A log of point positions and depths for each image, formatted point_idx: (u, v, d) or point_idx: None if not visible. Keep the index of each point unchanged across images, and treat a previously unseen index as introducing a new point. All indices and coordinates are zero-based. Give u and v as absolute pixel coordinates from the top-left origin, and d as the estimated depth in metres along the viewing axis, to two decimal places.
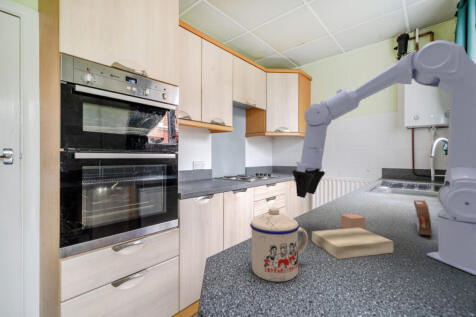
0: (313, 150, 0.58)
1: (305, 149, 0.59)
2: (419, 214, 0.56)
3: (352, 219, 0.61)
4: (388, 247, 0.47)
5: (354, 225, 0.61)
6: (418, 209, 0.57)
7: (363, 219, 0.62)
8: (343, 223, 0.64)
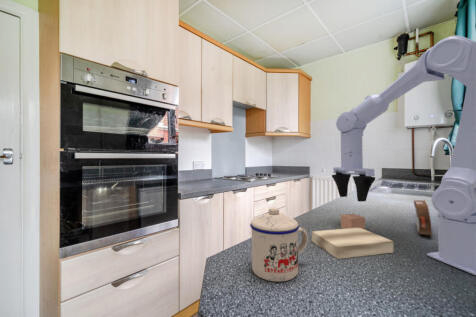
0: (361, 154, 0.61)
1: (354, 154, 0.61)
2: (419, 214, 0.56)
3: (352, 219, 0.61)
4: (388, 247, 0.47)
5: (354, 225, 0.61)
6: (418, 209, 0.57)
7: (363, 219, 0.62)
8: (343, 223, 0.64)
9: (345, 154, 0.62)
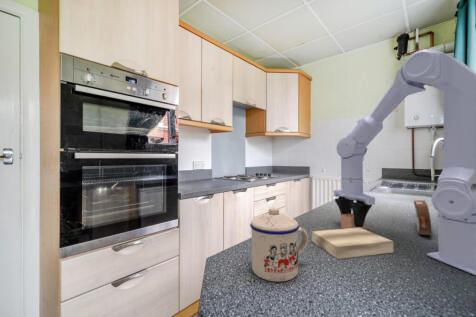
0: (361, 180, 0.61)
1: (354, 181, 0.61)
2: (419, 214, 0.56)
3: (352, 218, 0.61)
4: (388, 247, 0.47)
5: (354, 225, 0.61)
6: (418, 209, 0.57)
7: None
8: (343, 222, 0.64)
9: (345, 180, 0.62)
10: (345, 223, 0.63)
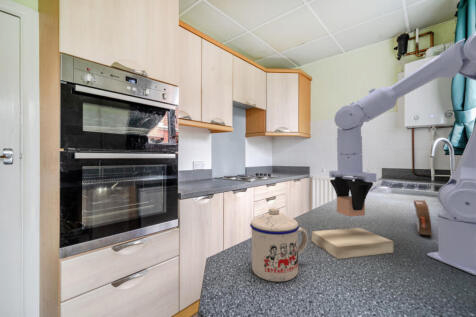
0: (360, 156, 0.52)
1: (352, 156, 0.52)
2: (419, 214, 0.56)
3: (350, 201, 0.52)
4: (388, 247, 0.47)
5: (352, 208, 0.52)
6: (418, 209, 0.57)
7: None
8: (339, 206, 0.55)
9: (342, 156, 0.53)
10: (342, 207, 0.54)
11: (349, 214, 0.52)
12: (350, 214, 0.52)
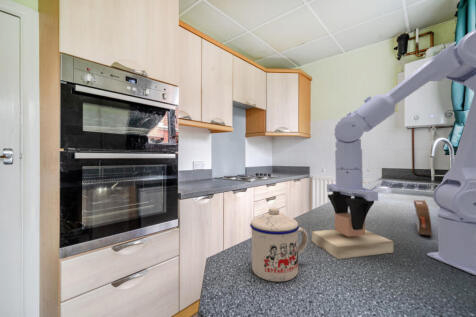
0: (360, 171, 0.49)
1: (352, 171, 0.48)
2: (419, 214, 0.56)
3: (349, 219, 0.48)
4: (388, 247, 0.47)
5: None
6: (418, 209, 0.57)
7: None
8: (337, 224, 0.51)
9: (341, 170, 0.50)
10: (340, 225, 0.51)
11: (348, 234, 0.48)
12: (349, 234, 0.48)
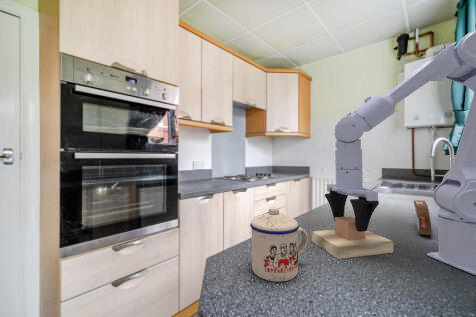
0: (360, 171, 0.49)
1: (352, 171, 0.48)
2: (419, 214, 0.56)
3: (349, 223, 0.48)
4: (388, 247, 0.47)
5: (351, 231, 0.48)
6: (418, 209, 0.57)
7: None
8: (337, 227, 0.52)
9: (341, 170, 0.50)
10: (340, 229, 0.51)
11: (348, 238, 0.48)
12: (349, 238, 0.48)
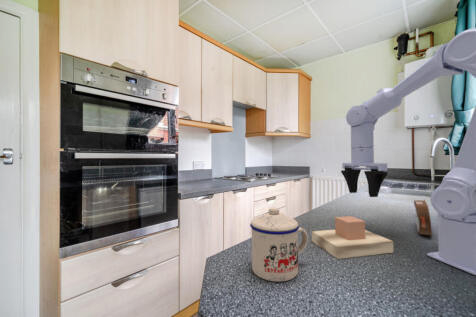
0: (372, 149, 0.60)
1: (365, 149, 0.59)
2: (419, 214, 0.56)
3: (349, 223, 0.48)
4: (388, 247, 0.47)
5: (351, 231, 0.48)
6: (418, 209, 0.57)
7: (363, 223, 0.49)
8: (337, 227, 0.52)
9: (356, 149, 0.61)
10: (340, 229, 0.51)
11: (348, 238, 0.48)
12: (349, 238, 0.48)
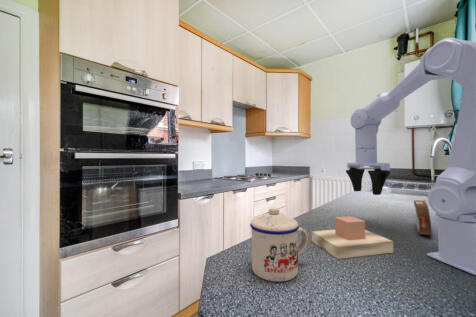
0: (376, 149, 0.64)
1: (369, 149, 0.63)
2: (419, 214, 0.56)
3: (349, 223, 0.48)
4: (388, 247, 0.47)
5: (351, 231, 0.48)
6: (418, 209, 0.57)
7: (363, 223, 0.49)
8: (337, 227, 0.52)
9: (360, 149, 0.65)
10: (340, 229, 0.51)
11: (348, 238, 0.48)
12: (349, 238, 0.48)
